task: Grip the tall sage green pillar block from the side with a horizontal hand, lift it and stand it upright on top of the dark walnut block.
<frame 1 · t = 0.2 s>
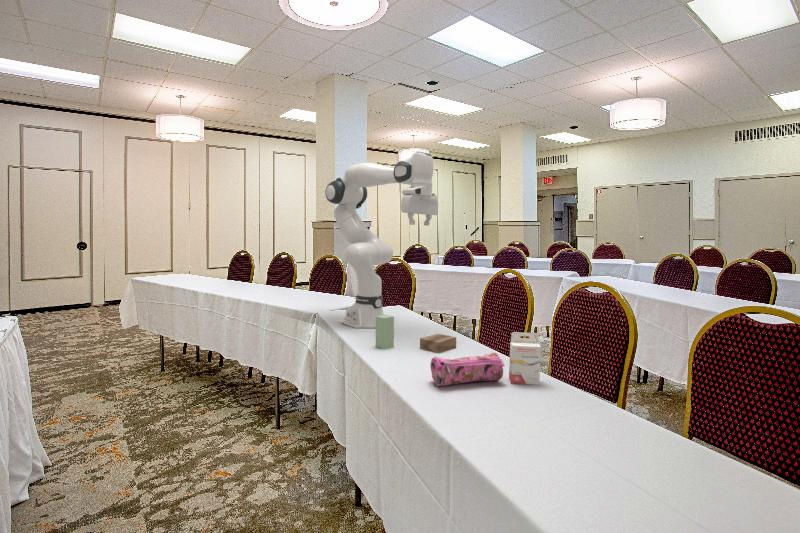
hand: (419, 225, 197), 47 cm above the table, tool pointing down, fingers open, 8 cm apart
walnut block: (438, 348, 182), on the table
sage pillar block: (384, 346, 183), on the table
pencil case: (466, 383, 142), on the table
ink cartridge box: (524, 382, 144), on the table
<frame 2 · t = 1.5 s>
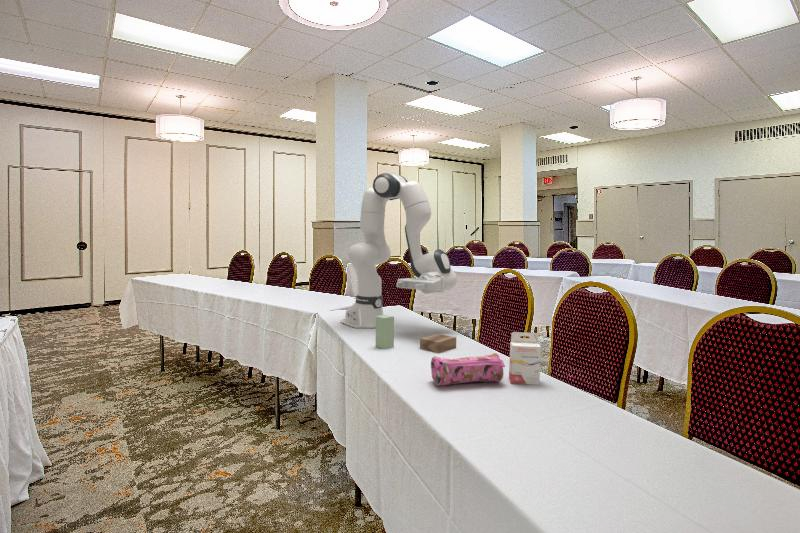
hand: (406, 286, 190), 23 cm above the table, tool horizontal, fingers open, 8 cm apart
nothing on the table moved.
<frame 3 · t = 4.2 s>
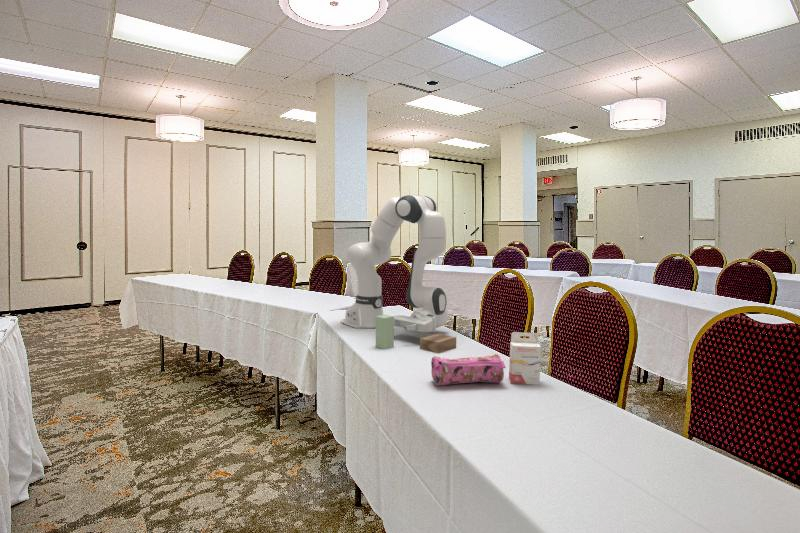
hand: (397, 326, 187), 7 cm above the table, tool horizontal, fingers open, 8 cm apart
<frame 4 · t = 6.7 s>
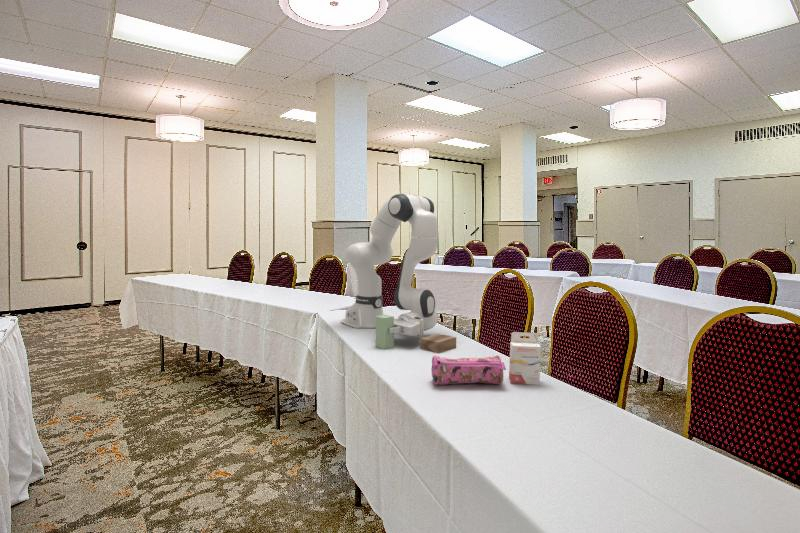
hand: (383, 329, 182), 7 cm above the table, tool horizontal, fingers closed on sage pillar block, 5 cm apart
sage pillar block: (384, 346, 183), on the table, touching gripper
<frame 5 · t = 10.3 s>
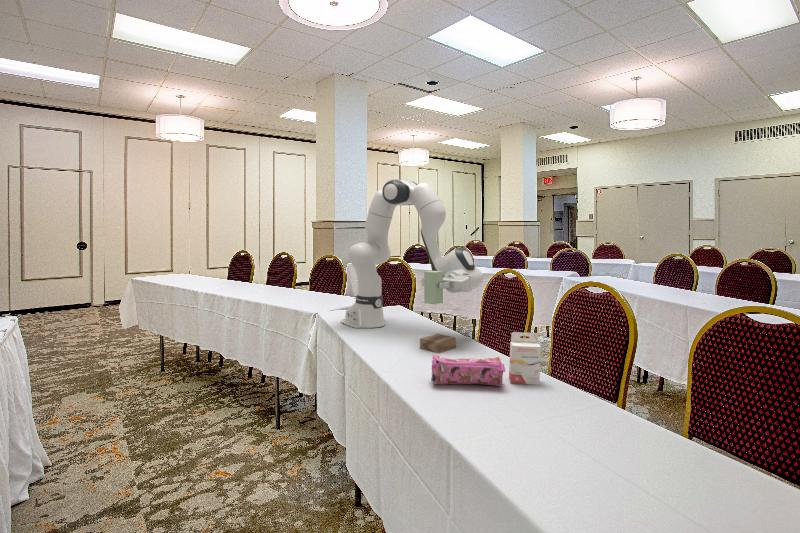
hand: (432, 284, 179), 25 cm above the table, tool horizontal, fingers closed on sage pillar block, 5 cm apart
sage pillar block: (433, 302, 180), point 18 cm above the table, touching gripper
when the fingers open (12 cm above the table, at t = 14.2 s): sage pillar block drops 1 cm, resting on walnut block.
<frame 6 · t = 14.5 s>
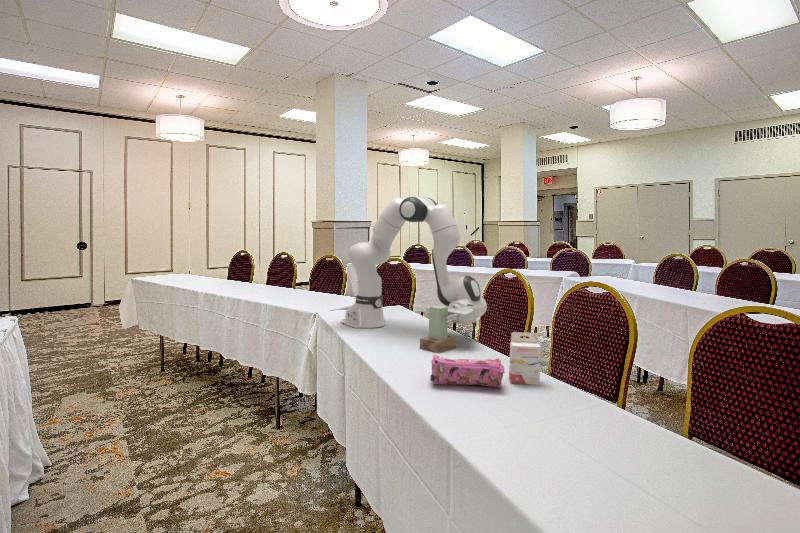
hand: (437, 316, 180), 12 cm above the table, tool horizontal, fingers open, 8 cm apart
sage pillar block: (438, 337, 181), point 4 cm above the table, touching walnut block
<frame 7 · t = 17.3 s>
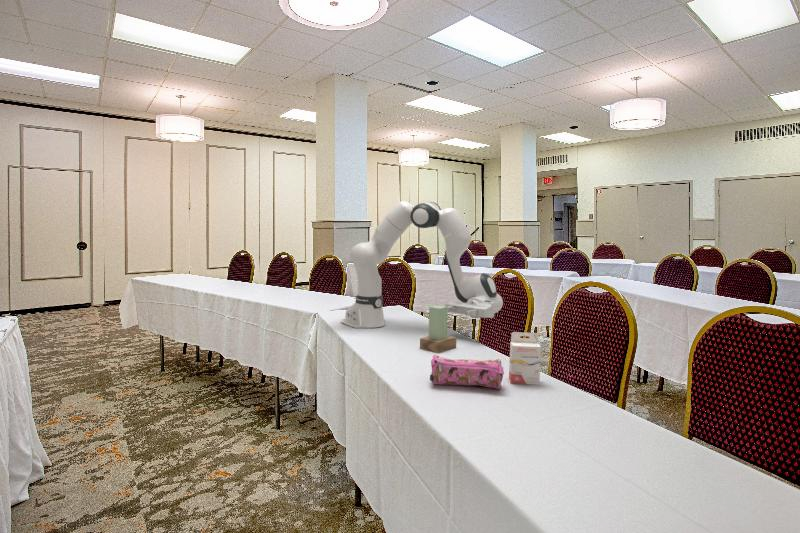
hand: (456, 311, 189), 13 cm above the table, tool horizontal, fingers open, 8 cm apart
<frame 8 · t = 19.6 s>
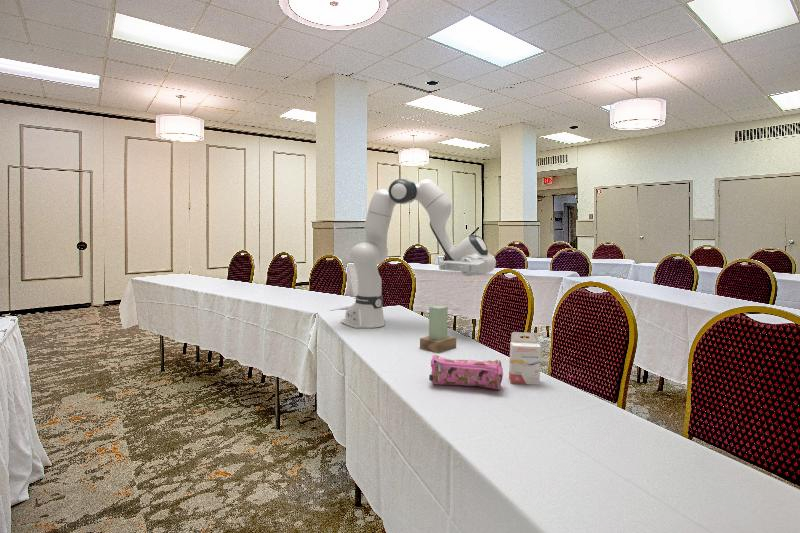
hand: (450, 267, 190), 30 cm above the table, tool horizontal, fingers open, 8 cm apart
at the end: sage pillar block 0.1 cm off-centre on the walnut block, point 4.0 cm above the walnut block's base; sage pillar block tilted 0°; the gripper is holding nothing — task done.
